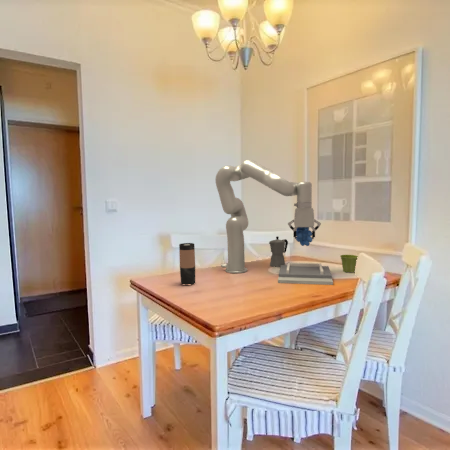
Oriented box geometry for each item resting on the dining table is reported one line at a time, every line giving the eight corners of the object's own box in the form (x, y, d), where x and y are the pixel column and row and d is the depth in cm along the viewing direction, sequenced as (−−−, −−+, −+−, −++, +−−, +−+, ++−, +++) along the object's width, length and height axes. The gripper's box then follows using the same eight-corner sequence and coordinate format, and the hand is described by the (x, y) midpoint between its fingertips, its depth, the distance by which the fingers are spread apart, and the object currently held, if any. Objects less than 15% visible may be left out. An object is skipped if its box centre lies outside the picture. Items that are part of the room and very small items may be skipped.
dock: (277, 282, 167) (277, 273, 167) (281, 270, 194) (280, 262, 194) (333, 284, 161) (333, 275, 161) (328, 271, 189) (328, 263, 188)
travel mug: (198, 282, 172) (197, 243, 170) (190, 286, 165) (189, 245, 163) (185, 281, 175) (184, 242, 173) (177, 284, 168) (176, 244, 166)
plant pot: (359, 270, 189) (359, 255, 188) (356, 274, 181) (356, 258, 180) (342, 269, 194) (342, 254, 193) (338, 272, 186) (338, 256, 185)
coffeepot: (275, 268, 199) (274, 238, 198) (264, 266, 207) (263, 236, 205) (293, 264, 208) (293, 235, 206) (282, 262, 216) (282, 234, 214)
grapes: (289, 245, 183) (289, 223, 182) (297, 244, 187) (297, 222, 186) (306, 247, 174) (307, 224, 173) (314, 246, 178) (315, 224, 177)
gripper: (287, 206, 176) (287, 239, 177) (321, 205, 172) (321, 239, 173) (287, 205, 183) (287, 237, 185) (321, 205, 179) (320, 237, 181)
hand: (304, 238), depth 179 cm, fingers closed on grapes, 8 cm apart
